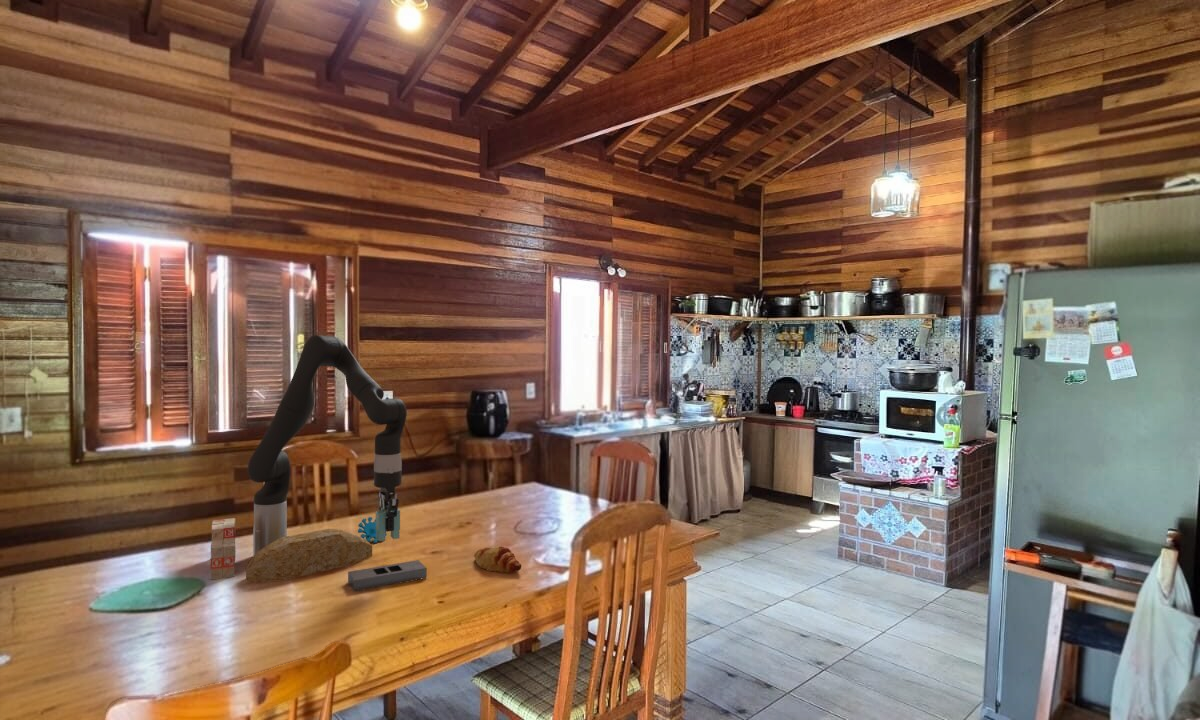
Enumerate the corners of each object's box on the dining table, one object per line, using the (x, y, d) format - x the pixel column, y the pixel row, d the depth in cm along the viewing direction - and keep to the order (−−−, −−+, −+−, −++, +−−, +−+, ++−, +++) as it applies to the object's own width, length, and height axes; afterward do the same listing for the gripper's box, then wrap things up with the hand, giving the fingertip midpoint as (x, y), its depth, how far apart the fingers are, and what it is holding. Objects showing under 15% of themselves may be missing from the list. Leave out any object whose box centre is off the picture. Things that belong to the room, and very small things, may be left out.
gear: (361, 541, 221) (356, 516, 227) (355, 551, 224) (350, 525, 230) (393, 540, 228) (387, 515, 234) (386, 549, 231) (381, 524, 237)
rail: (354, 591, 182) (354, 580, 182) (348, 582, 189) (348, 571, 188) (426, 578, 192) (426, 567, 192) (418, 570, 199) (418, 560, 199)
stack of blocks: (235, 577, 192) (235, 534, 192) (210, 580, 189) (209, 537, 189) (235, 555, 211) (235, 517, 211) (212, 558, 208) (212, 519, 208)
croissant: (468, 572, 208) (458, 552, 205) (490, 550, 214) (481, 531, 212) (513, 588, 194) (503, 567, 191) (535, 564, 201) (526, 543, 198)
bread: (253, 587, 184) (253, 552, 184) (241, 577, 192) (241, 543, 192) (377, 559, 209) (377, 527, 209) (362, 551, 217) (362, 520, 217)
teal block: (378, 541, 187) (378, 513, 187) (375, 538, 190) (375, 510, 190) (400, 538, 191) (400, 510, 190) (397, 535, 193) (396, 508, 193)
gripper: (368, 466, 194) (368, 525, 194) (380, 474, 182) (380, 537, 182) (394, 463, 198) (394, 521, 198) (408, 471, 186) (408, 533, 186)
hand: (387, 528), depth 190 cm, fingers closed on teal block, 3 cm apart
